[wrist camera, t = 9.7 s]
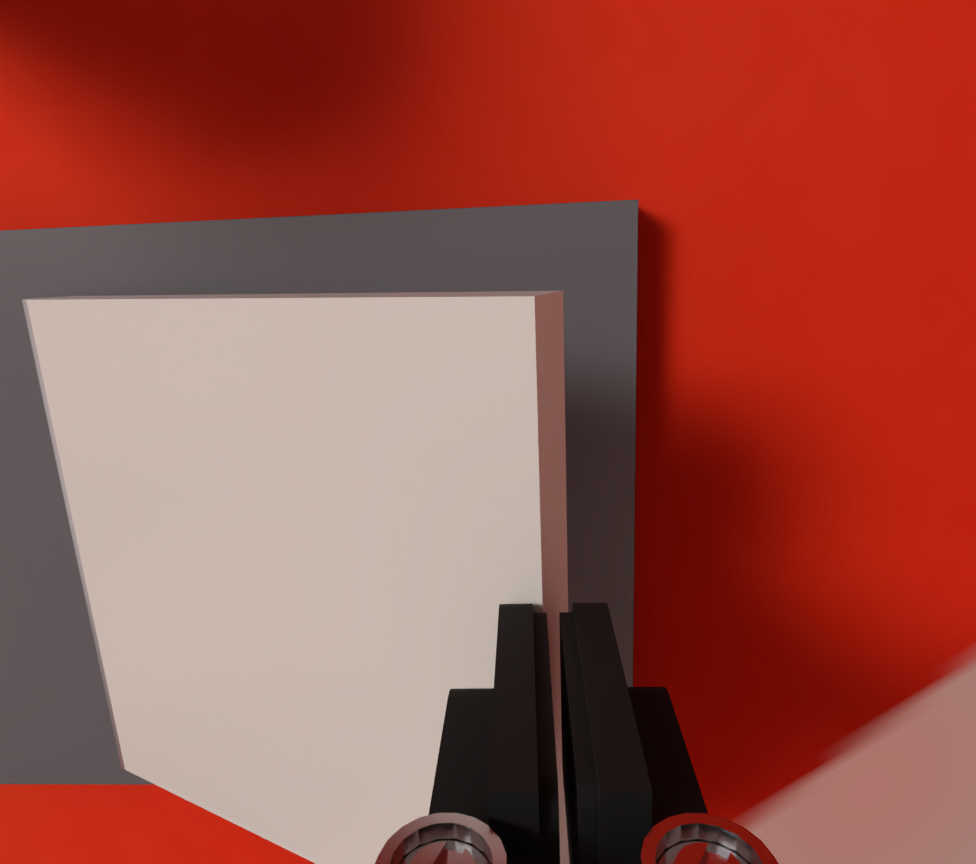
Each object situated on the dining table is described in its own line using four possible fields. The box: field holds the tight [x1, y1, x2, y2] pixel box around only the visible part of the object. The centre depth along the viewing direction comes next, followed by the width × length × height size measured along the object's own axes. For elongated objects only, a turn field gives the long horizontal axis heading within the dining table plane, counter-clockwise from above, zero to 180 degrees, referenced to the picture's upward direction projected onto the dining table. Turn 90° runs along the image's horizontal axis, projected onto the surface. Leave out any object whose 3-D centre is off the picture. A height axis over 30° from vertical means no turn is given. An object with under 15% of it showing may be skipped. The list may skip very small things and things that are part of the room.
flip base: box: [0, 200, 638, 784], centre depth 18 cm, size 26×15×1 cm, turn 93°
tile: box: [22, 291, 569, 864], centre depth 14 cm, size 12×12×1 cm
